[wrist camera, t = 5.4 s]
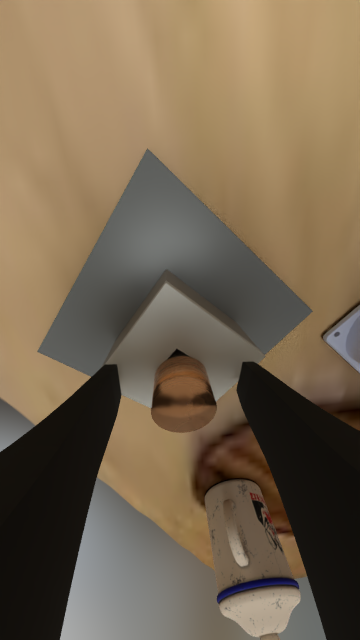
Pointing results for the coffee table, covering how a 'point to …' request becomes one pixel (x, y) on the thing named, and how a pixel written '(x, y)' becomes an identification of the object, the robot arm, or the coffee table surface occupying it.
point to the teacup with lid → (249, 560)
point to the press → (170, 292)
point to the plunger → (182, 394)
